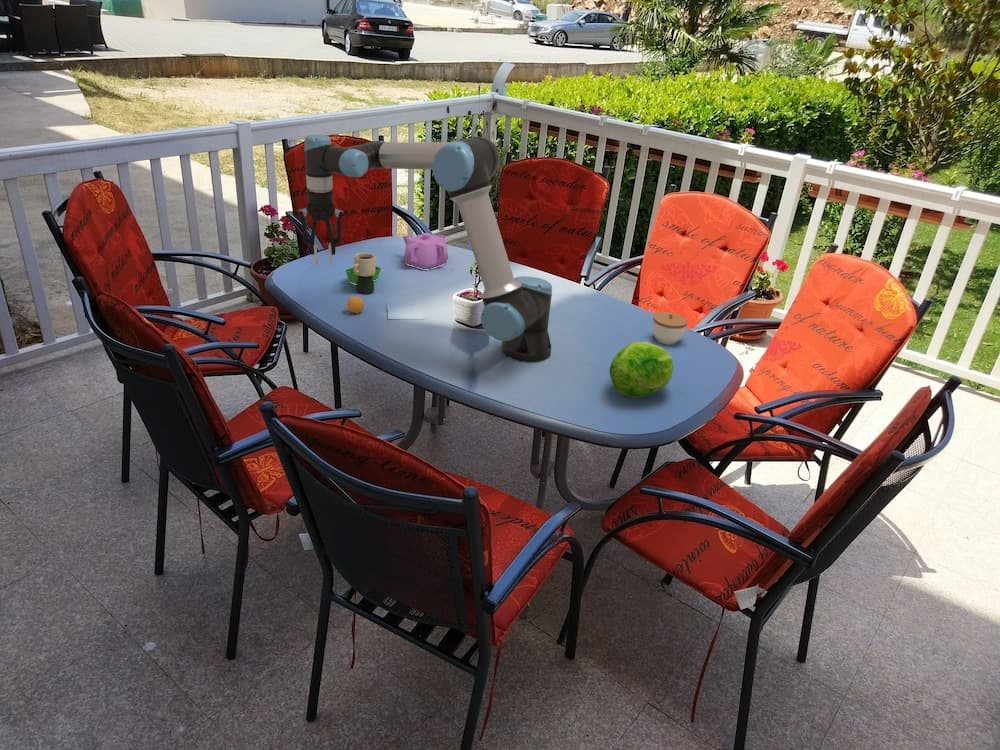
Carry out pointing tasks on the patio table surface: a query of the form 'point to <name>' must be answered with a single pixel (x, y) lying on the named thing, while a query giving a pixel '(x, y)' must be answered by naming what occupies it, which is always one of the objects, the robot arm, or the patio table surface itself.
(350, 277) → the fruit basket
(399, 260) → the patio table surface
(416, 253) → the pink squat rounded shape
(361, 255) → the character mug
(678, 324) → the lidded jar
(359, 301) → the ball
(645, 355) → the lettuce
